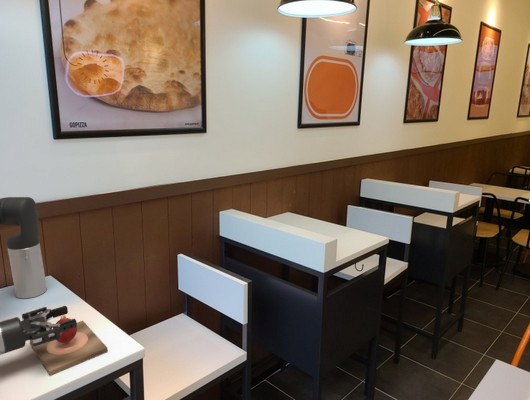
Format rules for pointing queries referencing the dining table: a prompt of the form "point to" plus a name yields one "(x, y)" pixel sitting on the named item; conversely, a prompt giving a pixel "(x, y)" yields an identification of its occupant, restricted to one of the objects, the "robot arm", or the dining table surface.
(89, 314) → the dining table surface
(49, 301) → the dining table surface
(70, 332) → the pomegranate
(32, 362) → the dining table surface
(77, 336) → the serving board
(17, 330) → the robot arm
